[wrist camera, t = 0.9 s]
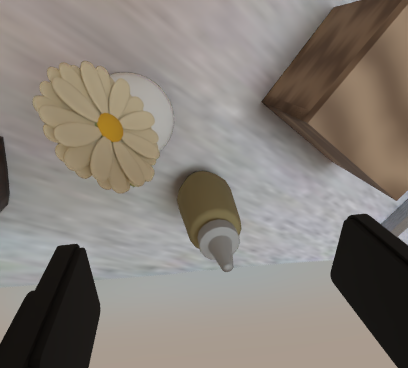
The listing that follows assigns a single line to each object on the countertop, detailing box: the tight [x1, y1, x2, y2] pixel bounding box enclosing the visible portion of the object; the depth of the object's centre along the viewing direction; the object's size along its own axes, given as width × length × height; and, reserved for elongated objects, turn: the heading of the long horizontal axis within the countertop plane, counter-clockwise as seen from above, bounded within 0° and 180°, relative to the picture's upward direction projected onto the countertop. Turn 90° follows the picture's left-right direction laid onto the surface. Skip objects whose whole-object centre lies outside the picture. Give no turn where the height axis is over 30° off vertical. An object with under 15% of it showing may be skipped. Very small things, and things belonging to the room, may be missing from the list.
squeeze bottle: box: [177, 171, 241, 272], centre depth 35 cm, size 8×8×18 cm
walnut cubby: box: [262, 0, 408, 201], centre depth 34 cm, size 14×17×13 cm
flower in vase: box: [33, 61, 174, 193], centre depth 25 cm, size 13×11×25 cm
